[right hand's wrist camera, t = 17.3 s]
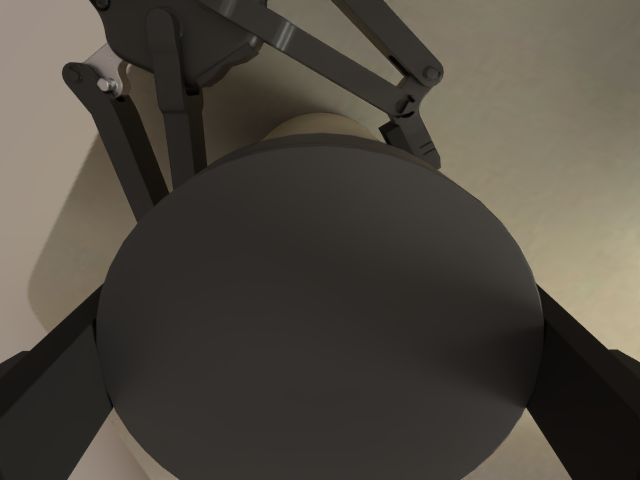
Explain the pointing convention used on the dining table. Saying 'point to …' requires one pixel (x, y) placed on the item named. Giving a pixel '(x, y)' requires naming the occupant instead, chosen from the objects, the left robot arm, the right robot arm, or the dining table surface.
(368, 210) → the lid
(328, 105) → the dining table surface
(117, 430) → the dining table surface
